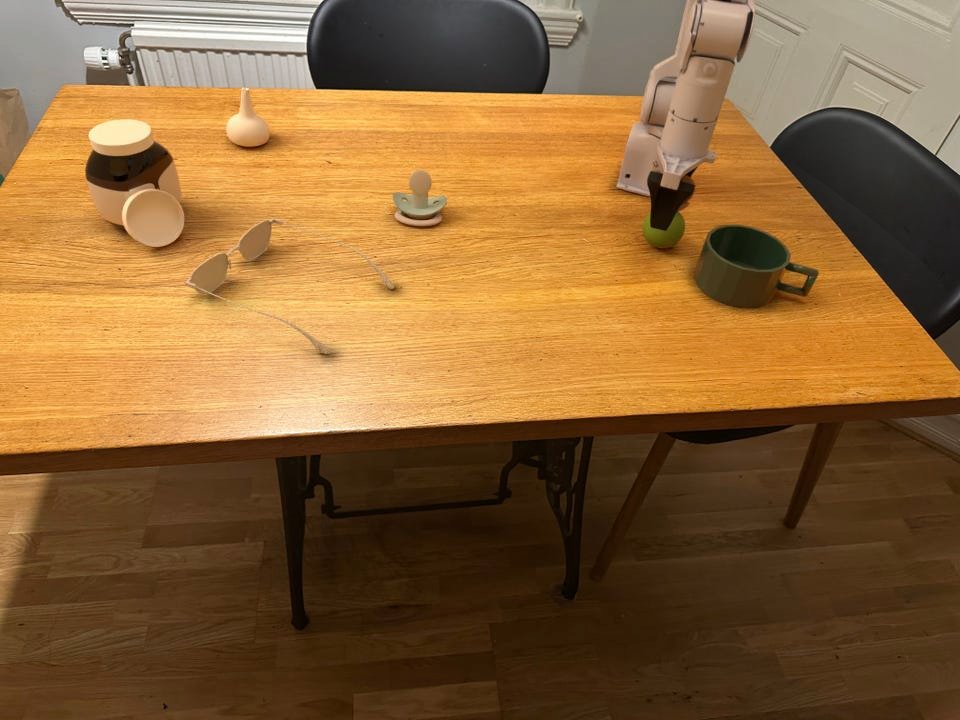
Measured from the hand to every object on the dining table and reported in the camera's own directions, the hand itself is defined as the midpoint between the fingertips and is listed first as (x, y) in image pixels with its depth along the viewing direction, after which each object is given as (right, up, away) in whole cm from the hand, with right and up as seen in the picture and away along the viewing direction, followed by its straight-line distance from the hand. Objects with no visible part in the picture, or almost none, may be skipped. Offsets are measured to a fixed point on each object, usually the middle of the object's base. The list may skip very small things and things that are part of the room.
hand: (664, 213), depth 91 cm
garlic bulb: (-59, +14, +16) cm, 63 cm away
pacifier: (-32, 0, +4) cm, 33 cm away
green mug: (+10, -10, -2) cm, 14 cm away
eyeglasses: (-45, -12, -10) cm, 48 cm away
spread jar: (-66, -2, -2) cm, 66 cm away
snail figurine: (0, -4, +3) cm, 5 cm away
